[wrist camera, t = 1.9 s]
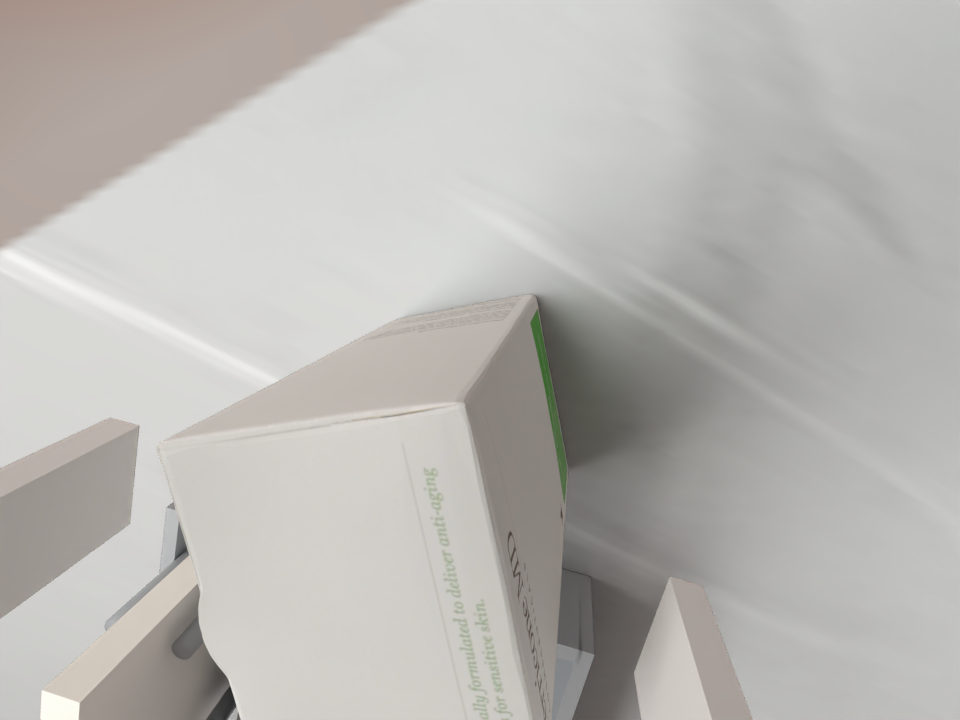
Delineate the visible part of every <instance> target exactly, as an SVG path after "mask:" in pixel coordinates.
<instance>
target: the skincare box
mask: <svg viewBox="0 0 960 720" xmlns="http://www.w3.org/2000/svg"><path fill="white" fill-rule="evenodd" d="M156 448H157V453H158V455H159V458H160V461H161V463H162V466H163V469H164V472H165V476H166V479H167V482H168V486H169V489H170V492H171V496H172V499H173V502H174V506H175V509H176V512H177V516H178V519H179V522H180V526H181V529H182V532H183V536H184V539H185V542H186V546H187V549H188V552H189V556H190V559H191V562H192V566H193V569H194V572H195V576H196V579H197V582H198V586H199V589H200V599H199V606H198V615H199V625H200V629H201V632H202V637H203V640H204V643H205V645H206V647H207V649H208V651H209V653H210V655H211V657H212V658H213V660H214V661H215V663H216V664H217V665H218V666H219V668H220V669H221V670H222V671H223V672H224V674H225V675H226V676H227V678H228V680H229V683H230V686H231V689H232V693H233V696H234V699H235V702H236V706H237V709H238V713H239V716H240V719H241V720H552V706H553V695H554V681H555V666H556V654H557V636H558V621H559V607H560V590H561V574H562V561H563V544H564V527H565V516H566V503H567V487H568V475H569V470H568V464H567V458H566V453H565V448H564V442H563V437H562V431H561V425H560V420H559V414H558V409H557V404H556V399H555V394H554V389H553V383H552V378H551V373H550V368H549V363H548V358H547V353H546V348H545V342H544V337H543V331H542V326H541V320H540V314H539V308H538V303H537V298H536V296H535V295H534V294H528V295H521V296H515V297H509V298H504V299H498V300H493V301H487V302H482V303H477V304H472V305H467V306H462V307H457V308H451V309H446V310H441V311H436V312H431V313H426V314H421V315H416V316H410V317H405V318H400V319H396V320H394V321H392V322H390V323H388V324H386V325H384V326H382V327H380V328H378V329H376V330H374V331H372V332H370V333H368V334H366V335H364V336H363V337H361V338H359V339H357V340H355V341H353V342H351V343H350V344H348V345H346V346H344V347H342V348H340V349H338V350H336V351H334V352H332V353H331V354H329V355H327V356H325V357H323V358H321V359H319V360H317V361H315V362H313V363H312V364H310V365H308V366H306V367H304V368H302V369H300V370H298V371H296V372H294V373H292V374H290V375H289V376H287V377H285V378H283V379H281V380H280V381H278V382H276V383H274V384H272V385H270V386H268V387H266V388H264V389H262V390H260V391H258V392H257V393H255V394H253V395H251V396H249V397H247V398H245V399H243V400H241V401H239V402H237V403H235V404H233V405H232V406H230V407H228V408H226V409H224V410H222V411H220V412H218V413H217V414H215V415H213V416H211V417H209V418H207V419H205V420H203V421H201V422H199V423H197V424H195V425H193V426H191V427H189V428H187V429H185V430H183V431H181V432H179V433H178V434H176V435H174V436H172V437H170V438H168V439H166V440H164V441H162V442H160V443H158V445H157V446H156Z"/></svg>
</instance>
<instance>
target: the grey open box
mask: <svg viewBox="0 0 960 720" xmlns="http://www.w3.org/2000/svg"><path fill="white" fill-rule="evenodd" d="M199 599H200V589H199V586H198V582H197V579H196V576H195V572H194V569H193V566H192V562H191V559H190V556H189V552H188V549H187V546H186V542H185V539H184V536H183V532H182V529H181V526H180V522H179V519H178V516H177V512H176V509H175V506H174V502H173V503H172V504H170V505H169V506H168V507H166V515H165V524H164V533H163V543H162V552H161V561H160V570H159V575H157V576H156V577H155V578H154V579H153V580H152V581H151V582H150V583H148V584H147V585H146V586H145V587H144V588H143V589H142V590H141V591H140V592H138V593H137V594H136V595H135V596H134V597H133V598H132V599H131V600H129V601H128V602H127V603H126V604H125V605H124V606H123V607H122V608H121V609H119V610H118V611H117V612H116V613H115V614H114V615H113V616H112V617H110V618H109V619H108V620H107V621H106V623H105V630H106V632H105V633H104V634H103V635H102V636H100V637H99V638H98V639H97V640H96V641H95V642H94V643H93V644H92V645H91V646H90V647H88V648H87V649H86V650H85V651H84V652H83V653H82V654H81V655H80V656H79V657H78V658H76V659H75V660H74V661H73V662H72V663H71V664H70V665H69V666H68V667H67V668H66V669H64V670H63V671H62V672H61V673H60V674H59V675H58V676H57V677H56V678H55V679H54V680H52V681H51V682H50V683H49V684H48V685H47V686H46V687H45V688H44V689H43V690H42V698H41V717H40V720H228V718H229V717H230V715H231V714H232V712H233V711H234V709H235V708H236V702H235V699H234V696H233V693H232V689H231V686H230V683H229V680H228V678H227V676H226V675H225V674H224V672H223V671H222V670H221V669H220V668H219V666H218V665H217V664H216V663H215V661H214V660H213V658H212V657H211V655H210V653H209V651H208V649H207V647H206V645H205V643H204V640H203V637H202V632H201V629H200V625H199V615H198V606H199ZM594 655H595V650H594V631H593V612H592V594H591V577H589V576H585V575H582V574H579V573H575V572H572V571H569V570H565V569H562V574H561V590H560V607H559V621H558V636H557V654H556V666H555V681H554V695H553V706H552V720H572V718H573V715H574V713H575V710H576V707H577V704H578V701H579V698H580V695H581V693H582V690H583V687H584V684H585V681H586V678H587V675H588V673H589V670H590V667H591V664H592V661H593V658H594ZM237 720H241V719H240V716H239V713H238V717H237Z"/></svg>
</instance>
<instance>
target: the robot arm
mask: <svg viewBox="0 0 960 720" xmlns="http://www.w3.org/2000/svg"><path fill="white" fill-rule="evenodd" d="M138 435H139V425H135V424H132V423H128V422H125V421H121V420H118V419H114V418H111V417H110V418H108V419H106V420H104V421H102V422H99V423H97V424H95V425H93V426H91V427H89V428H86V429H84V430H82V431H80V432H78V433H76V434H73V435H71V436H69V437H67V438H65V439H63V440H61V441H58V442H56V443H54V444H52V445H50V446H48V447H45V448H43V449H41V450H39V451H37V452H35V453H32V454H30V455H28V456H26V457H24V458H22V459H20V460H17V461H15V462H13V463H11V464H9V465H7V466H4V467H2V468H0V619H1V618H2V617H3V616H5V615H6V614H7V613H9V612H10V611H12V610H13V609H14V608H16V607H17V606H18V605H20V604H21V603H22V602H24V601H25V600H27V599H28V598H29V597H31V596H32V595H33V594H35V593H36V592H37V591H39V590H40V589H42V588H43V587H44V586H46V585H47V584H48V583H50V582H51V581H53V580H54V579H55V578H57V577H58V576H59V575H61V574H62V573H63V572H65V571H66V570H68V569H69V568H70V567H72V566H73V565H74V564H76V563H77V562H78V561H80V560H81V559H83V558H84V557H85V556H87V555H88V554H89V553H91V552H92V551H94V550H95V549H96V548H98V547H99V546H100V545H102V544H103V543H104V542H106V541H107V540H109V539H110V538H111V537H113V536H114V535H115V534H117V533H118V532H119V531H121V530H122V529H124V528H125V527H126V526H128V525H129V524H130V518H131V507H132V497H133V487H134V477H135V466H136V456H137V446H138ZM634 677H635V683H636V689H637V696H638V702H639V708H640V715H641V720H753V719H752V716H751V713H750V711H749V708H748V705H747V703H746V700H745V697H744V695H743V692H742V690H741V687H740V684H739V682H738V679H737V676H736V674H735V671H734V668H733V666H732V663H731V660H730V658H729V655H728V652H727V650H726V647H725V644H724V642H723V639H722V636H721V634H720V631H719V628H718V626H717V623H716V620H715V618H714V615H713V612H712V610H711V607H710V604H709V602H708V599H707V596H706V594H705V591H704V588H703V586H701V585H698V584H694V583H691V582H687V581H684V580H680V579H677V578H673V577H669V580H668V582H667V585H666V588H665V590H664V593H663V596H662V598H661V601H660V604H659V607H658V609H657V612H656V615H655V617H654V620H653V623H652V625H651V628H650V631H649V633H648V636H647V639H646V642H645V644H644V647H643V650H642V652H641V655H640V658H639V660H638V663H637V666H636V668H635V671H634Z"/></svg>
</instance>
